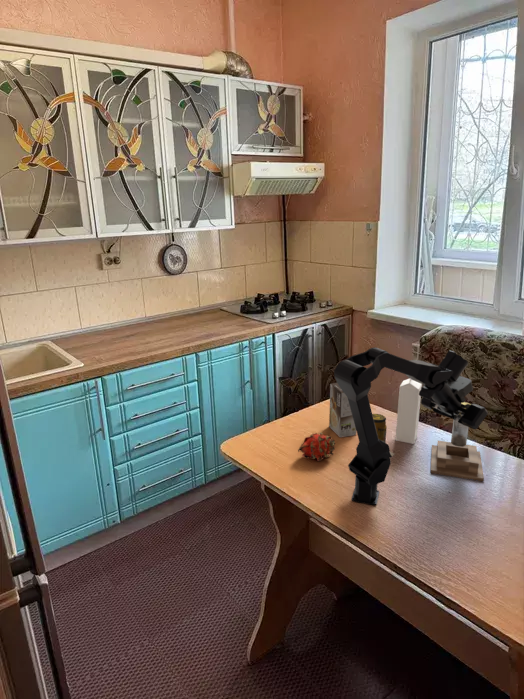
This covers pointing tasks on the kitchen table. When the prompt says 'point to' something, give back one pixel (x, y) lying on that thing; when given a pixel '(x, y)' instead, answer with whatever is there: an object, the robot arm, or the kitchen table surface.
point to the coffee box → (340, 413)
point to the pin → (459, 431)
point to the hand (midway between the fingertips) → (464, 421)
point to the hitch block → (456, 461)
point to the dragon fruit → (317, 446)
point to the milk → (408, 411)
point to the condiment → (381, 427)
